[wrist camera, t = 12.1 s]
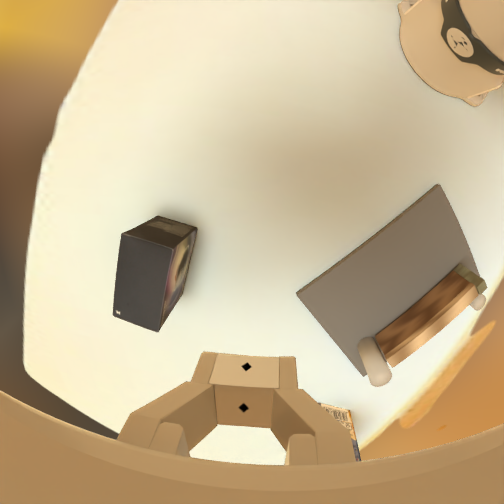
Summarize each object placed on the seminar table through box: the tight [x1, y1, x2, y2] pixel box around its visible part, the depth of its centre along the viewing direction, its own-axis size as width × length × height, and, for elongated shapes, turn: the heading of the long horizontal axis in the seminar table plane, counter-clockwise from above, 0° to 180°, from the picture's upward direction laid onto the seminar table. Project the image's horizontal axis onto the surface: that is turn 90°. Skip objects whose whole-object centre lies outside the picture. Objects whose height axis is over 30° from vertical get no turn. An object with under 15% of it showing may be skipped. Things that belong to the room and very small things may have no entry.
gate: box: [375, 264, 487, 368], centre depth 34 cm, size 17×2×7 cm, turn 132°
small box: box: [113, 216, 197, 332], centre depth 35 cm, size 11×6×10 cm, turn 164°
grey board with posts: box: [296, 184, 486, 387], centre depth 34 cm, size 25×19×9 cm
